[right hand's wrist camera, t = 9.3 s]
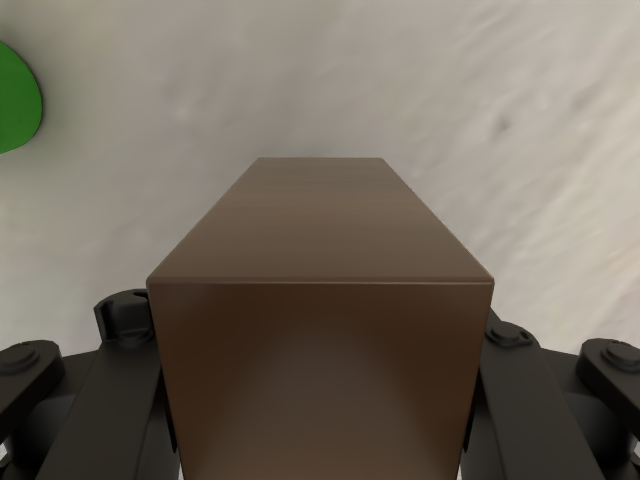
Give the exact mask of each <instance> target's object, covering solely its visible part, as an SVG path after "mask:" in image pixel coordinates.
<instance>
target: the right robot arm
mask: <svg viewBox="0 0 640 480" xmlns="http://www.w3.org/2000/svg"><path fill="white" fill-rule="evenodd" d="M93 309H94V313H95V316H96V320H97V324H98V328H99V332H100V336H101V340H102V343H101V345H100V347H99V349H98V350H95V351H91V352H86V353H81V354H76V355H71V356H66V357H62V355H61V352H60V349H59V346H58V345H57V344H56V343H54V342H53V341H47V340H36V341H27V342H22V343H21V344H20V343H18V344H15V345H12V346H11V347H9V348H7V349H5V350H2V351H0V445H1V444H2V443H3V444H4V446H5V448H6V451H7V454H6V455H5V456H4V457H3V458H2V460H1V461H0V480H178V477H179V469H180V457H179V452H178V447H177V442H176V437H175V431H174V426H173V421H172V416H171V411H170V406H169V401H168V395H167V390H166V385H165V380H164V375H163V370H162V364H161V359H160V354H159V349H158V344H157V339H156V333H155V328H154V323H153V318H152V313H151V308H150V302H149V297H148V292H147V289H132V290H127V291H122V292H119V293H116V294H113V295H111V296H109V297H107V298H105V299H103V300H102V301H100V302H99V303H98V304H97V305H96V306H95V307H94V308H93ZM638 441H639V442H640V349H638V348H636V347H633V346H631V345H630V344H628V343H625V342H622V341H621V342H619V341H618V340H613V339H602V338H596V339H589V340H587V341H586V342H584V343H583V344H582V347H581V350H580V353H579V356H578V355H573V354H568V353H563V352H557V351H552V350H548V349H544V348H541V347H540V345H539V343H538V341H537V340H536V338H535V337H534V336H533V335H532V334H531V333H530V332H528V331H527V330H525V329H524V328H522V327H520V326H517V325H515V324H512V323H509V322H505V321H501V320H500V319H499V317H498V316H497V315H496V314H495V312H494V311H493V310H492V308H491V307H490V311H489V316H488V321H487V326H486V331H485V336H484V341H483V347H482V352H481V357H480V362H479V367H478V372H477V377H476V383H475V388H474V393H473V398H472V403H471V408H470V413H469V419H468V424H467V429H466V434H465V439H464V444H463V449H462V455H461V460H460V468H461V476H462V480H640V458H639V457H638V456H637V455H636V454H635V452H634V449H635V447H636V444H637V442H638Z"/></svg>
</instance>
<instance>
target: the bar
mask: <svg viewBox="0 0 640 480" xmlns="http://www.w3.org/2000/svg"><path fill="white" fill-rule="evenodd" d="M494 285H495V282H494V278H493V277H492V276H491V275H490V274H489V273H488V272H487V270H486V269H485V268H484V267H483V266H482V265H481V264H480V263H479V262H478V261H477V260H476V259H475V258H474V256H473V255H472V254H471V253H470V252H469V251H468V250H467V249H466V248H465V247H464V246H463V245H462V244H461V242H460V241H459V240H458V239H457V238H456V237H455V236H454V235H453V234H452V233H451V232H450V231H449V230H448V228H447V227H446V226H445V225H444V224H443V223H442V222H441V221H440V220H439V219H438V218H437V217H436V216H435V214H434V213H433V212H432V211H431V210H430V209H429V208H428V207H427V206H426V205H425V204H424V203H423V202H422V200H421V199H420V198H419V197H418V196H417V195H416V194H415V193H414V192H413V191H412V190H411V189H410V188H409V187H408V185H407V184H406V183H405V182H404V181H403V180H402V179H401V178H400V177H399V176H398V175H397V174H396V173H395V171H394V170H393V169H392V168H391V167H390V166H389V165H388V164H387V163H386V162H385V161H384V160H383V159H382V158H258V159H257V160H256V161H255V162H254V163H253V164H252V165H251V166H250V167H249V168H248V170H247V171H246V172H245V173H244V174H243V175H242V176H241V177H240V178H239V179H238V180H237V181H236V183H235V184H234V185H233V186H232V187H231V188H230V189H229V190H228V191H227V192H226V193H225V194H224V195H223V197H222V198H221V199H220V200H219V201H218V202H217V203H216V204H215V205H214V206H213V207H212V208H211V210H210V211H209V212H208V213H207V214H206V215H205V216H204V217H203V218H202V219H201V220H200V221H199V222H198V224H197V225H196V226H195V227H194V228H193V229H192V230H191V231H190V232H189V233H188V234H187V235H186V237H185V238H184V239H183V240H182V241H181V242H180V243H179V244H178V245H177V246H176V247H175V248H174V249H173V251H172V252H171V253H170V254H169V255H168V256H167V257H166V258H165V259H164V260H163V261H162V262H161V264H160V265H159V266H158V267H157V268H156V269H155V270H154V271H153V272H152V273H151V274H150V275H149V276H148V278H147V280H146V287H147V292H148V297H149V302H150V308H151V313H152V318H153V323H154V328H155V333H156V339H157V344H158V349H159V354H160V359H161V364H162V370H163V375H164V380H165V385H166V390H167V395H168V401H169V406H170V411H171V416H172V421H173V426H174V431H175V437H176V442H177V447H178V452H179V457H180V462H181V468H182V473H183V478H184V480H457V475H458V470H459V465H460V460H461V455H462V449H463V444H464V439H465V434H466V429H467V424H468V419H469V413H470V408H471V403H472V398H473V393H474V388H475V383H476V377H477V372H478V367H479V362H480V357H481V352H482V347H483V341H484V336H485V331H486V326H487V321H488V316H489V311H490V305H491V300H492V295H493V290H494Z"/></svg>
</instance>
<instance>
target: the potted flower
mask: <svg viewBox="0 0 640 480" xmlns="http://www.w3.org/2000/svg"><path fill="white" fill-rule="evenodd" d="M41 114H42V103H41V96H40V92H39V89H38V86H37V83H36V81H35V79H34V77H33V75H32V73H31V72H30V70H29V69H28V67H27V66H26V64H25V63H24V62H23V61H22V60H21V59H20V58H19V57H18V56H17V54H16V53H15V52H13V51H12V50H11V49H10V48H9V47H7V46H6V45H5V44H4V43H2V42H0V154H1V153H4V152H7V151H10V150H12V149H15V148H18V147H20V146H22V145H23V144H25V143H26V142H27V141H29V140H30V139H31V138H32V137H33V135H34V133H35V132H36V130H37V129H38V126H39V123H40V120H41Z"/></svg>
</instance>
